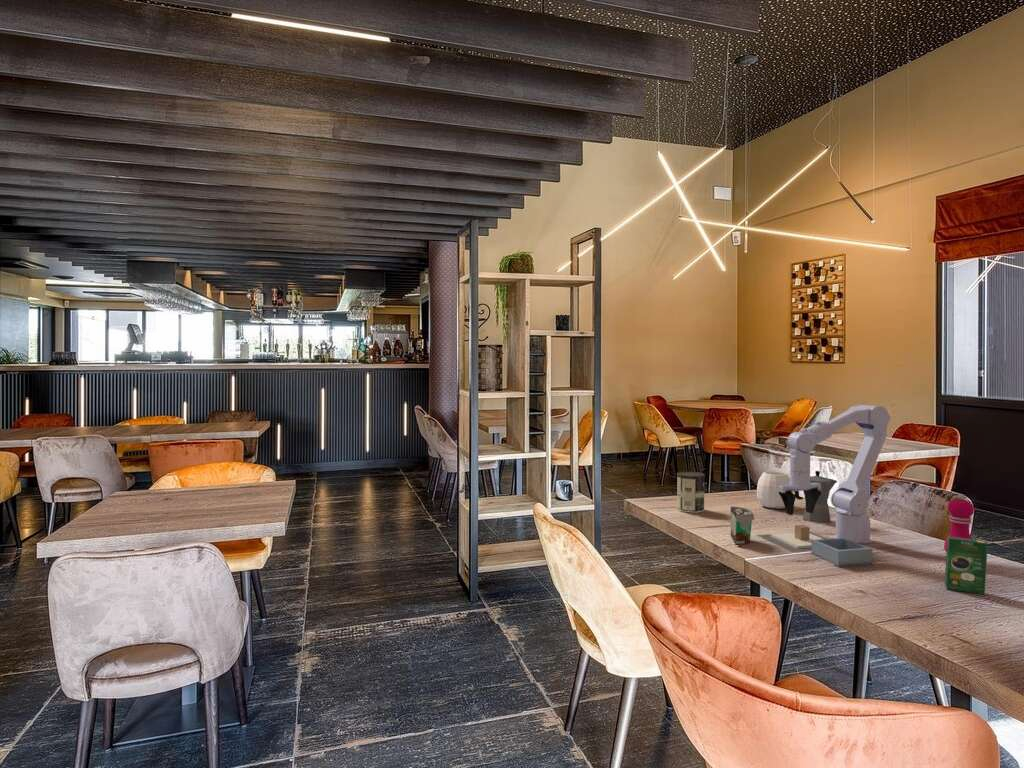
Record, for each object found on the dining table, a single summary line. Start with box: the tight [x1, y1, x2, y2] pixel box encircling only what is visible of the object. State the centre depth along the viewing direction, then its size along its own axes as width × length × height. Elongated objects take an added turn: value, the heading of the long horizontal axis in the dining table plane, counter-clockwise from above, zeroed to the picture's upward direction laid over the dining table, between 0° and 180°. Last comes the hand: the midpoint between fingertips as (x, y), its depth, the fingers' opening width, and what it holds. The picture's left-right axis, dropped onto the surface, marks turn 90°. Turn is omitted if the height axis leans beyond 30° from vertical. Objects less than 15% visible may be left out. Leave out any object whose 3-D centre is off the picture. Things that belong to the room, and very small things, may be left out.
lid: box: [770, 524, 822, 549], centre depth 193 cm, size 13×13×5 cm
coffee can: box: [676, 471, 706, 514], centre depth 235 cm, size 10×10×14 cm
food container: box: [730, 506, 755, 546], centre depth 193 cm, size 12×6×10 cm, turn 168°
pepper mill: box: [943, 493, 975, 553], centre depth 172 cm, size 7×7×20 cm
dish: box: [810, 538, 874, 568], centre depth 176 cm, size 11×11×4 cm
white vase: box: [756, 470, 794, 510], centre depth 240 cm, size 13×13×14 cm
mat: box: [756, 531, 828, 553], centre depth 193 cm, size 20×18×1 cm
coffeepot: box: [793, 470, 838, 524], centre depth 220 cm, size 15×9×18 cm, turn 79°
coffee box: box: [944, 535, 988, 595], centre depth 152 cm, size 8×3×13 cm, turn 62°
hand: (799, 513), depth 192 cm, fingers open, 7 cm apart
